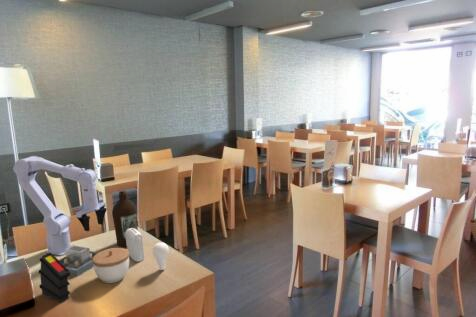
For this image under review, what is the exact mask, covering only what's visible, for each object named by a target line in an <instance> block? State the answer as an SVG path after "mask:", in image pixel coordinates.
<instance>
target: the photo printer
mask: <svg viewBox="0 0 476 317" xmlns="http://www.w3.org/2000/svg"><path fill="white" fill-rule="evenodd" d="M125 235H126V244H127V247H126V249H127V250H128V251H129V258H131V259H132V260H133V261H134V262H142V261H143V260H144V259H145V251H144V242H143V236H142V234H141V232H140V231H139V230H138V231H137V230H136V229H134V228H130V229H127V230H126V232H125Z"/></svg>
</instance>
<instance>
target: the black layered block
mask: <svg viewBox="0 0 476 317" xmlns="http://www.w3.org/2000/svg"><path fill="white" fill-rule="evenodd" d="M59 260H60V259H58V258H57V257H56V256H55V254H52V253H45V254H44V255H42V256H41V257H40V258H39V261H40V269H39V270H38V274H39V275H40V284H39V289H41V293H42V295H44V296H46V297H48V298H50V299H52V300H54V301H57V302H59V303H62V302H65V300H67V299H69V298H70V297H69V295H70V294H71V291H69V287H68V286H70V284H71V283H70V282H69V281H68V280H69V277H70V276H72V275H71V274H70V273H69V270H68V269H67V268H66V267H65V266H64V265H63V264H62V263H61V262H60V261H59Z"/></svg>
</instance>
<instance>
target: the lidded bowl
mask: <svg viewBox="0 0 476 317" xmlns="http://www.w3.org/2000/svg"><path fill="white" fill-rule="evenodd" d="M93 265H94V267H93V270H94V272H95V274H96V276H97V278H98V279H100V281H103V282H104V283H105V284H113V283H117V282H120V281H121V280H123V278H124V276H126V274H127V272H128V270H129V268H130V256H129V251H128V250H127V248H125V247H112V248H107V249H104V250H102V251H98V252H97V254H96V255H95V256H94V257H93Z"/></svg>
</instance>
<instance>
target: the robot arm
mask: <svg viewBox="0 0 476 317" xmlns="http://www.w3.org/2000/svg"><path fill="white" fill-rule="evenodd" d="M40 170H44V171H48V172H53V173H57V174H61V176H62V178H64V179H68V180H72V181H75V182H78V184H79V185H80V187H81V195H82V203H83V208H82V209H81V210H79V211H77V212H76V213H75V216H76V219H77V220H78V221H79V223H81V225H82V228H83V230H84V232H90V229H91V228H90V218H91V216H90V215H88V214H90V213H92V212H95V213H94V214H95V215H96V219H97V224H98V225H99V226H100V225H101V226H102V225H103V224H104V218H105V215H106V212H107V204H106V202H103V201H102V202H99V199H98V192H97V185H96V180H97V178H98V174H97V173H96V171H95V170H93V169H91V168H87V169H86V168H84V167H81V168H80V167H77V166H75V165H74V164H72V163H69V164H66V165H62V164H58V163H56V162H53V161H51V160H48V159H45V158H43V157H40V156H37V155H31V156H29V157H26V158H22V159H21V158H20V159H17V160H16V161H15V163H14V166H13V168H12V171H13V172H14V173H15V174H16V178H17V182H18V185H19V186H20V187H21V188H22V189H23V190H24V192H25V194H26V195H27V197H29V199H30V200H31V202H32V203H33V204H34V205H35V206H36V209H38V210H39V212H40V213H41V214H42V216H43V221H42V222H43V225H44V226H45V230H46V231H47V234H46V235H45V236H46V237H45V239H46V246H47V250H46V251H45V253H46V254H48V253H52V254H53V255H57V256H63V255H66V254H65V249H66V248H68V247H70V246H72V242H71V236H70V227H69V226H70V225H71V221H72V220H71V217H70V216H69V215H68V214H66V213H65V212H64V211H63V210H61V209H58V208H57V207H55V205H54V203H53V202H52V201H51V200H50V199H49V197H48V195H46V193H45V192H44V191H43V189H42V188H41V186H40V185H39V184H38V182H37V181H36V175H37V173H39V171H40Z"/></svg>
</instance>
